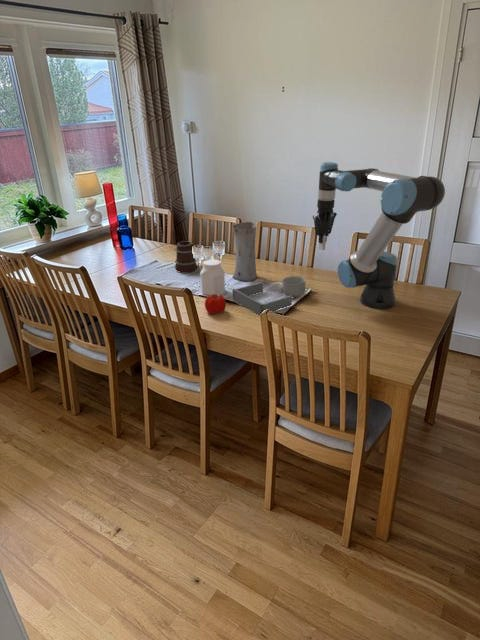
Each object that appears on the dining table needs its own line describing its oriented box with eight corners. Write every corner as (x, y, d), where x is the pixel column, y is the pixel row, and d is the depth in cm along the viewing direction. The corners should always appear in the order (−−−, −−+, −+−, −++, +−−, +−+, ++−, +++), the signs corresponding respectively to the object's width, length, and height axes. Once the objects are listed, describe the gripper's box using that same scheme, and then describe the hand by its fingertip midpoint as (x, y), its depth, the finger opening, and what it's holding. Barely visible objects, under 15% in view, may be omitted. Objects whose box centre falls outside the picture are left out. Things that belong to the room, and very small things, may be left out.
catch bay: (291, 306, 197) (291, 295, 195) (261, 316, 189) (261, 304, 186) (261, 291, 214) (261, 281, 211) (232, 299, 205) (232, 289, 203)
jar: (228, 290, 216) (227, 260, 209) (219, 297, 208) (217, 267, 202) (208, 286, 221) (206, 257, 214) (198, 293, 213) (196, 263, 206)
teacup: (304, 300, 203) (304, 284, 199) (280, 299, 205) (281, 283, 201) (306, 289, 215) (306, 274, 211) (284, 288, 217) (284, 272, 213)
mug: (189, 274, 237) (187, 247, 231) (171, 270, 243) (168, 244, 236) (204, 265, 250) (203, 239, 243) (187, 262, 255) (185, 237, 248)
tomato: (201, 312, 194) (200, 296, 190) (216, 306, 199) (216, 290, 196) (215, 318, 188) (215, 302, 184) (230, 312, 193) (230, 296, 190)
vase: (229, 281, 227) (227, 228, 214) (237, 271, 239) (236, 221, 226) (253, 284, 224) (253, 230, 211) (260, 274, 235) (260, 222, 222)
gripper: (331, 195, 204) (326, 244, 215) (309, 199, 198) (306, 249, 209) (342, 198, 198) (337, 248, 209) (320, 202, 192) (316, 253, 203)
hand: (321, 249), depth 209 cm, fingers closed
